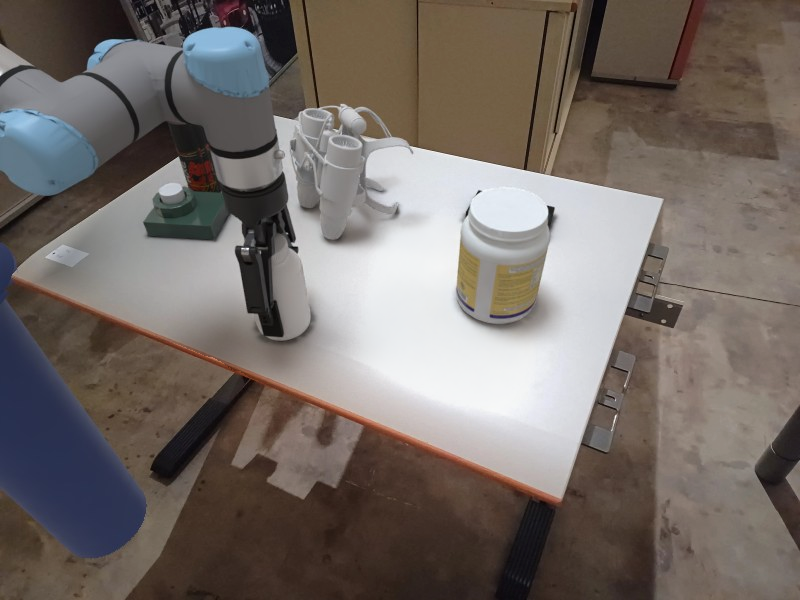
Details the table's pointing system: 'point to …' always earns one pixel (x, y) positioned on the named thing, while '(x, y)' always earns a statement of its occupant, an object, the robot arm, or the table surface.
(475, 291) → the supplement tub
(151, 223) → the button base
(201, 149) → the deodorant
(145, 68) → the robot arm
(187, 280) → the table surface
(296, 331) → the pill bottle
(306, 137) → the rocket backpack
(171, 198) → the white button cap
